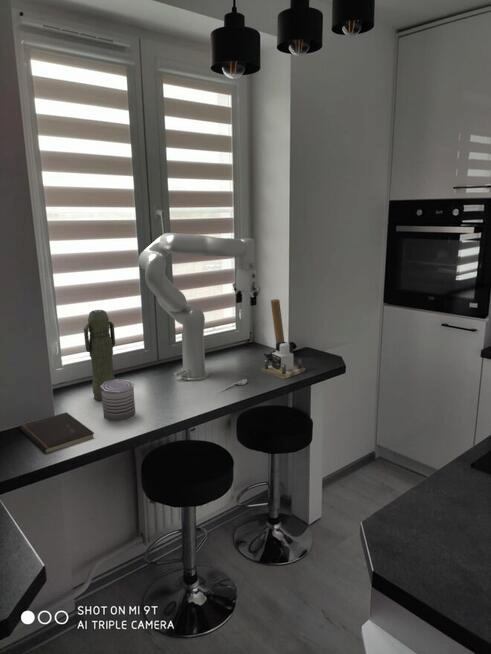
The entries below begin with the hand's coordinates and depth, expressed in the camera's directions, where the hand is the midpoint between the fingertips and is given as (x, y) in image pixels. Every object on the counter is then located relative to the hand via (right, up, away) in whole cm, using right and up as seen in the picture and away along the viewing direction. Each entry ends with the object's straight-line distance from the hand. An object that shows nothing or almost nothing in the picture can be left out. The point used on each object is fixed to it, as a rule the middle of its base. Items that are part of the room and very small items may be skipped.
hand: (246, 304), depth 223 cm
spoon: (-7, -36, -20) cm, 42 cm away
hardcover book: (-63, -47, -59) cm, 98 cm away
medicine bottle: (+16, -29, -2) cm, 34 cm away
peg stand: (+17, -31, -1) cm, 35 cm away
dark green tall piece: (-56, -39, -28) cm, 74 cm away
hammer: (+17, -26, +21) cm, 37 cm away
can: (-46, -43, -45) cm, 77 cm away
